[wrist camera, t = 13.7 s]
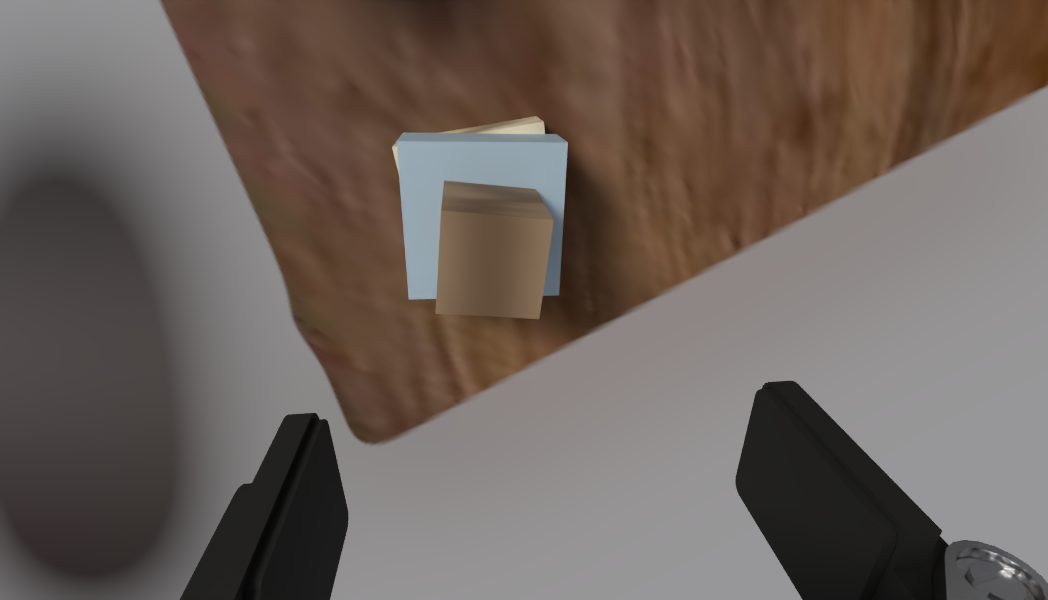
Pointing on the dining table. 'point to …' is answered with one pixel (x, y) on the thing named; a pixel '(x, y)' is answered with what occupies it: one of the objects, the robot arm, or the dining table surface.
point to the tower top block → (482, 163)
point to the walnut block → (492, 251)
